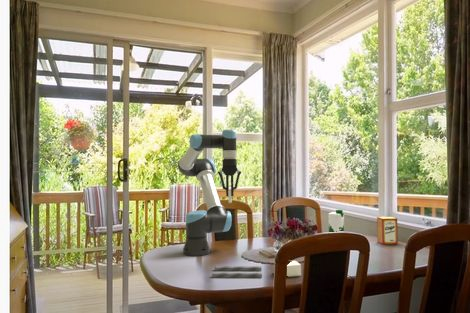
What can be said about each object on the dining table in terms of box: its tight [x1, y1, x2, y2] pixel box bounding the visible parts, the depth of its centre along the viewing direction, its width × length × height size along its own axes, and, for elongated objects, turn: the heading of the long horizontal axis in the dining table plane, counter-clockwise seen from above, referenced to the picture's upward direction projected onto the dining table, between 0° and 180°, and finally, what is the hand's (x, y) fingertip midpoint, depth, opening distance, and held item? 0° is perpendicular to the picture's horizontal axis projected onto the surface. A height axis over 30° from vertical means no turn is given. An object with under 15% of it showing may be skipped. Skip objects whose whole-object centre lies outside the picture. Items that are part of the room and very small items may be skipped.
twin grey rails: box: [211, 265, 263, 279], centre depth 164 cm, size 22×12×2 cm, turn 87°
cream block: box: [287, 260, 302, 278], centre depth 162 cm, size 10×7×5 cm
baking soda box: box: [376, 216, 399, 245], centre depth 222 cm, size 10×6×16 cm
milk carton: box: [327, 209, 345, 233], centre depth 229 cm, size 9×9×20 cm
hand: (229, 202), depth 193 cm, fingers closed
